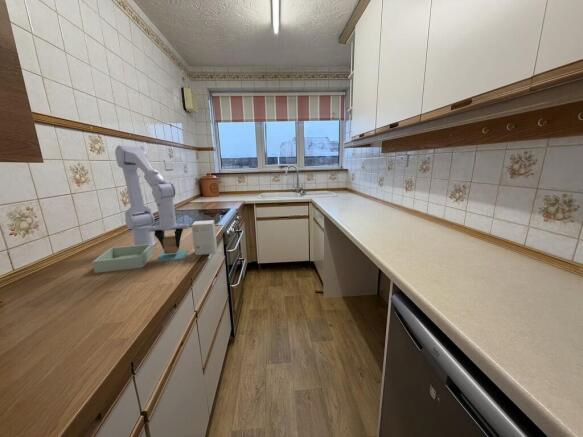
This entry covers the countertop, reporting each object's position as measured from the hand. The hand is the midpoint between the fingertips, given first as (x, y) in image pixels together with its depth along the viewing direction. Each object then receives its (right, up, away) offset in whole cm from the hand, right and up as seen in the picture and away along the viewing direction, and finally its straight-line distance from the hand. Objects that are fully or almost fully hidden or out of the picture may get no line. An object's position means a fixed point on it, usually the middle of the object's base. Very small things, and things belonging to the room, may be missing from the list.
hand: (171, 247), depth 98 cm
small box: (+12, -3, +5) cm, 14 cm away
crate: (-15, -5, -4) cm, 17 cm away
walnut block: (0, -2, 0) cm, 2 cm away
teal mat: (0, -4, +1) cm, 4 cm away
